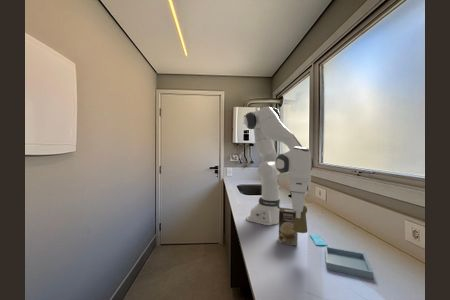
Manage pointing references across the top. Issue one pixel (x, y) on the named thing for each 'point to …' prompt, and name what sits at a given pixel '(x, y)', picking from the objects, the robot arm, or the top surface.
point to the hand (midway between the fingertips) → (298, 215)
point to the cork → (301, 222)
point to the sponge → (317, 240)
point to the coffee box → (287, 226)
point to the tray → (348, 262)
